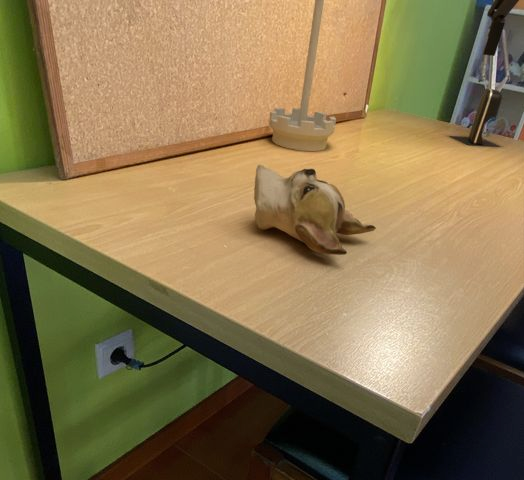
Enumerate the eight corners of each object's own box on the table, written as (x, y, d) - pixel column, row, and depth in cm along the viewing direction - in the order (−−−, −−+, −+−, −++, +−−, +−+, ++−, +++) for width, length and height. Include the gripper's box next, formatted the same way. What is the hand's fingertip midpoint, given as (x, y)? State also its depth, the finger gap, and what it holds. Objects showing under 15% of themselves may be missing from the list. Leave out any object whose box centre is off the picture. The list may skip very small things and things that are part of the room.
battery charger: (486, 146, 119) (505, 93, 112) (470, 143, 119) (488, 90, 113) (483, 140, 124) (501, 89, 118) (467, 137, 125) (484, 86, 118)
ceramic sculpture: (281, 143, 63) (392, 180, 59) (270, 209, 69) (371, 247, 64) (235, 159, 56) (358, 203, 51) (226, 231, 61) (337, 278, 56)
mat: (499, 146, 121) (500, 146, 121) (468, 145, 118) (468, 144, 118) (479, 137, 127) (479, 137, 127) (449, 136, 125) (449, 135, 125)
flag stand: (323, 156, 95) (358, -43, 78) (258, 143, 98) (278, -53, 81) (336, 142, 106) (369, -36, 88) (277, 131, 108) (298, -45, 91)
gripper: (493, -64, 108) (460, 50, 120) (582, -72, 89) (533, 65, 101) (521, -59, 110) (486, 53, 122) (614, -65, 91) (562, 68, 103)
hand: (507, 59), depth 111 cm, fingers open, 13 cm apart
